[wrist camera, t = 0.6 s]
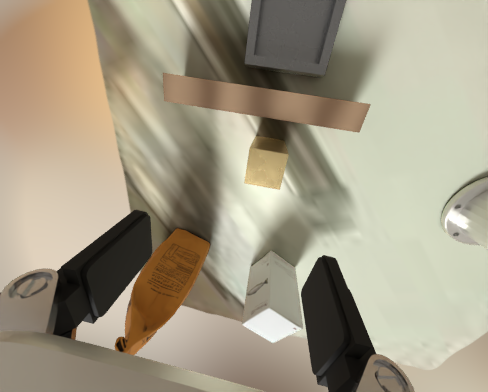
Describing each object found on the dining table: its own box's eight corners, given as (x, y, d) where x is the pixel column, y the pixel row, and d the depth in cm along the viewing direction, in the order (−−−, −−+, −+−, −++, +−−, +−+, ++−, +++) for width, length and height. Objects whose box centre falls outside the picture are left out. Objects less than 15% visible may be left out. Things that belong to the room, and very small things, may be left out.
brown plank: (350, 104, 26) (370, 104, 20) (342, 126, 27) (359, 132, 22) (184, 78, 27) (162, 72, 22) (184, 101, 29) (164, 101, 23)
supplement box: (270, 248, 39) (269, 307, 28) (296, 267, 41) (305, 330, 29) (248, 266, 42) (240, 325, 31) (273, 283, 44) (273, 345, 33)
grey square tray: (349, -30, 20) (359, -46, 18) (320, 77, 25) (324, 75, 23) (259, -40, 21) (258, -56, 19) (247, 67, 26) (244, 63, 23)
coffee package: (157, 253, 45) (67, 369, 25) (177, 219, 39) (83, 335, 20) (192, 273, 46) (134, 398, 27) (217, 244, 41) (166, 373, 21)
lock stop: (284, 140, 29) (288, 154, 21) (278, 167, 31) (279, 189, 23) (256, 135, 29) (249, 147, 21) (251, 162, 32) (244, 183, 24)
